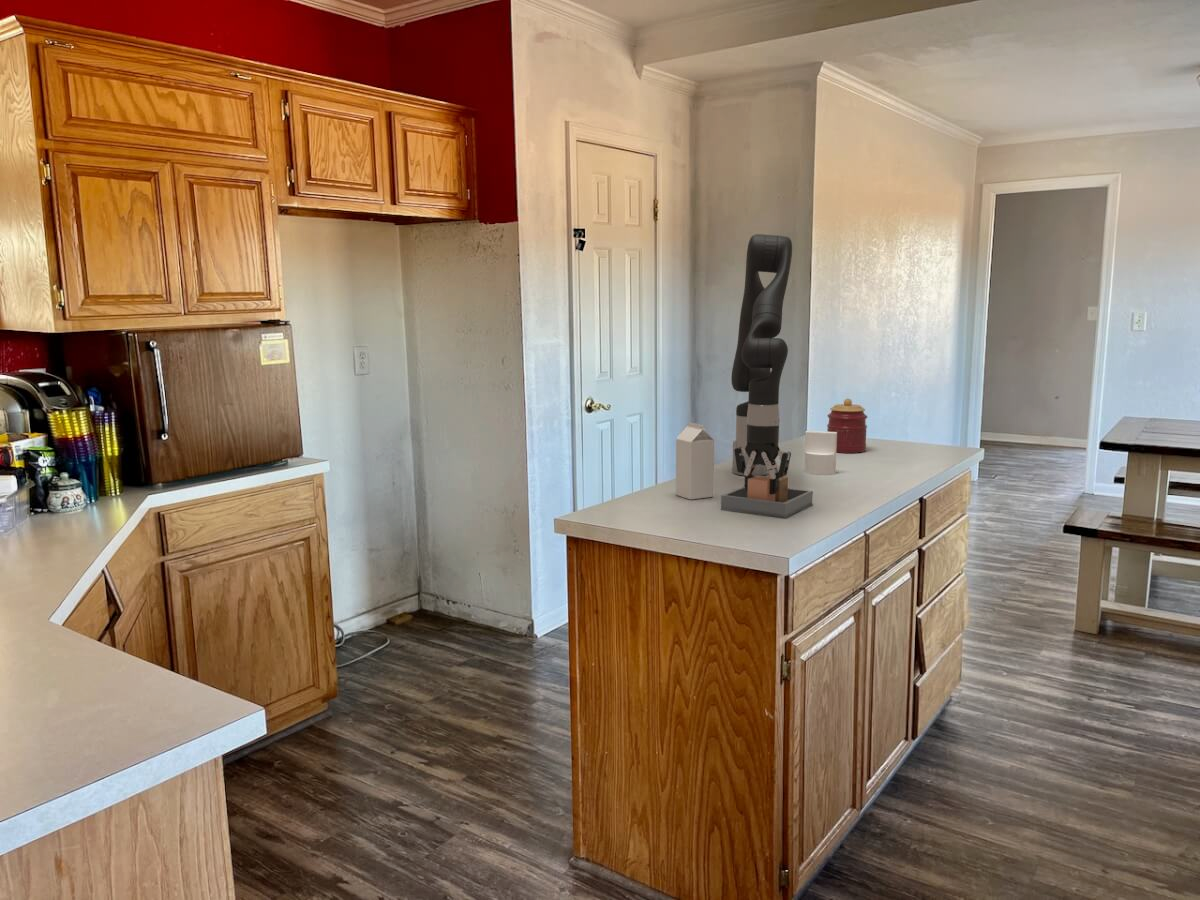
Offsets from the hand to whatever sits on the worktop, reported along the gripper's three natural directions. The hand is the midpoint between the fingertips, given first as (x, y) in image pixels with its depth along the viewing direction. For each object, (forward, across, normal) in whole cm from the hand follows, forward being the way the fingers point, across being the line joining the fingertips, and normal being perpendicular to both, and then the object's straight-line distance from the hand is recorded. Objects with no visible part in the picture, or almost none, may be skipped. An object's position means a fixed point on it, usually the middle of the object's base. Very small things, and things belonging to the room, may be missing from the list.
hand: (761, 491), depth 212 cm
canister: (+5, -13, +96) cm, 97 cm away
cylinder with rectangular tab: (+5, -6, +54) cm, 55 cm away
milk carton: (+5, -21, +5) cm, 22 cm away
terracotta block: (+3, 0, 0) cm, 3 cm away
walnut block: (+4, 0, +7) cm, 8 cm away
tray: (+4, 0, +4) cm, 6 cm away
